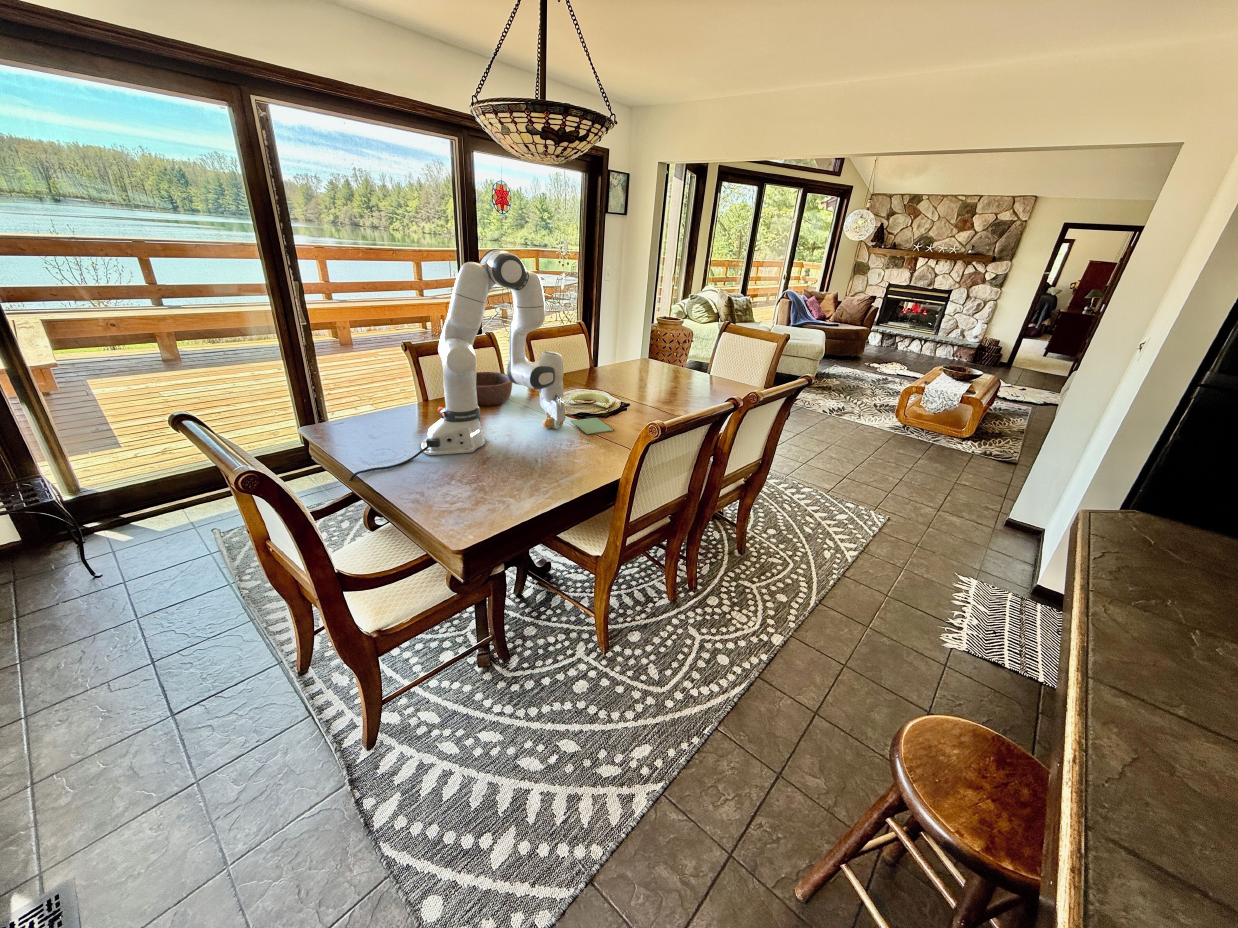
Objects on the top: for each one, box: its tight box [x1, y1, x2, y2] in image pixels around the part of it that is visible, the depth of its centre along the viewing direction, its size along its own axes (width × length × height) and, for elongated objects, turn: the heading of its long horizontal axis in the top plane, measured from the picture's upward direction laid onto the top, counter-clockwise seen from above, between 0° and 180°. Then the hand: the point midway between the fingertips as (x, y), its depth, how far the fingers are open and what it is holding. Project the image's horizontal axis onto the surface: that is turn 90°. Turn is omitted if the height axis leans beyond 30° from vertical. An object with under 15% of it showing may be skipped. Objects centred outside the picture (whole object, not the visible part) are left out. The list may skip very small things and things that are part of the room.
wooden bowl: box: [476, 371, 513, 407], centre depth 223 cm, size 25×25×10 cm
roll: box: [542, 416, 565, 430], centre depth 197 cm, size 9×4×4 cm, turn 129°
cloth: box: [571, 417, 614, 435], centre depth 202 cm, size 12×16×1 cm
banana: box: [569, 392, 610, 413], centre depth 223 cm, size 14×6×20 cm
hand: (552, 424), depth 198 cm, fingers open, 8 cm apart
